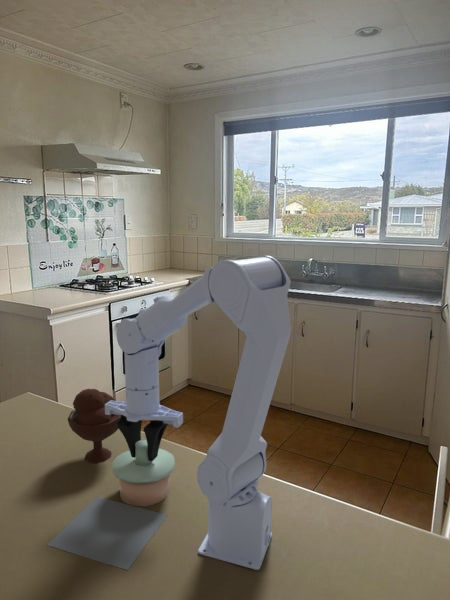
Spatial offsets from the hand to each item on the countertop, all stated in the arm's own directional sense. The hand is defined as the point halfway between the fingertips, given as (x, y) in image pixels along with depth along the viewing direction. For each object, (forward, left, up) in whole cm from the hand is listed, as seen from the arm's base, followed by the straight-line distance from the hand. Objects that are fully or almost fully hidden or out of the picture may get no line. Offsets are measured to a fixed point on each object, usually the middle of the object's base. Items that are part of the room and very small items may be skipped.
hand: (144, 456), depth 81 cm
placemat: (0, +11, -7) cm, 13 cm away
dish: (0, 0, -7) cm, 7 cm away
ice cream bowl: (+15, -7, -7) cm, 18 cm away
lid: (0, 0, -2) cm, 2 cm away
